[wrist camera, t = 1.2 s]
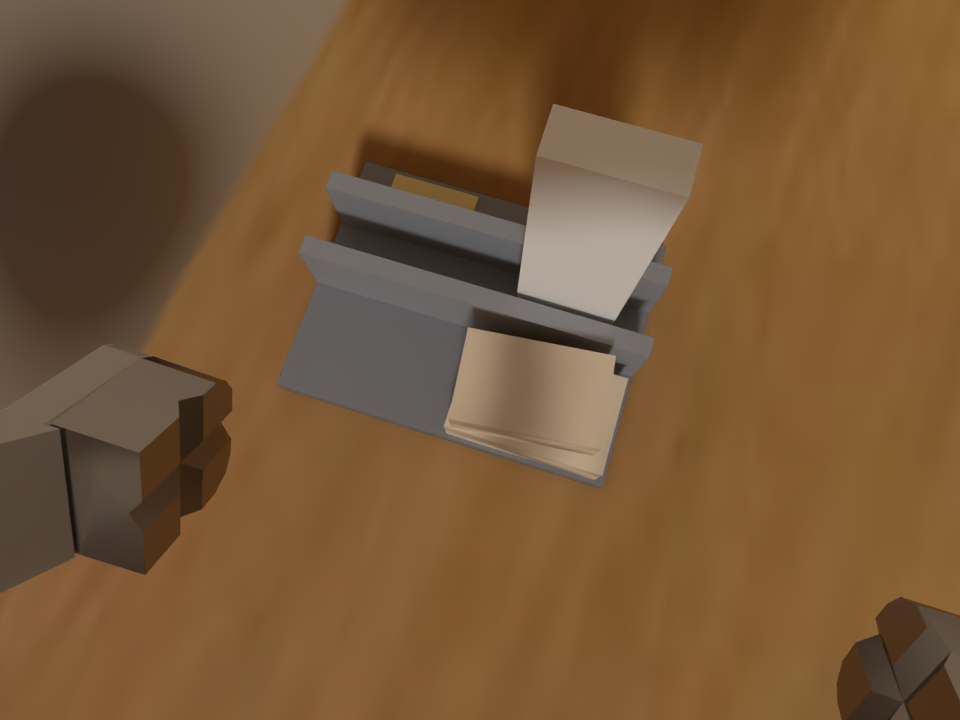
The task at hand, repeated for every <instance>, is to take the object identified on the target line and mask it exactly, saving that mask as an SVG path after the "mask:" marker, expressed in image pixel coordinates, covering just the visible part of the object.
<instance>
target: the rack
mask: <svg viewBox="0 0 960 720" xmlns="http://www.w3.org/2000/svg"><path fill="white" fill-rule="evenodd" d="M326 189H327V191H328V194H329V196H330V198H331V200H332V203H333V205H334V207H335V209H336V212H337V214H338V216H339V218H340V220H341V225H340V227H339V230H338V232H337V235H336V237H335V240H334V242H333V243H331V242H327V241H324V240H321V239H317V238H314V237H310V236H307V235H306V236H305V238H304V241H303V243H302V246H301V248H300V250H299V254H300V256H301V257H302V259H303V260H304V262H305V264H306V265H307V267H308V268H309V270H310V271H311V273H312V274H313V276H314V277H315V279H316V281H317V285H316V287H315V290H314V292H313V295H312V297H311V300H310V302H309V305H308V307H307V310H306V312H305V315H304V317H303V320H302V322H301V325H300V327H299V329H298V332H297V334H296V337H295V339H294V342H293V344H292V347H291V349H290V352H289V354H288V357H287V359H286V362H285V364H284V367H283V369H282V372H281V374H280V377H279V379H278V382H277V385H278V386H280V387H281V388H283V389H286V390H289V391H292V392H296V393H299V394H302V395H305V396H308V397H311V398H315V399H318V400H321V401H324V402H327V403H330V404H334V405H337V406H340V407H343V408H346V409H349V410H353V411H356V412H359V413H362V414H365V415H369V416H372V417H375V418H378V419H381V420H384V421H388V422H391V423H394V424H397V425H400V426H403V427H407V428H410V429H413V430H416V431H419V432H423V433H426V434H429V435H432V436H435V437H438V438H442V439H445V440H448V441H451V442H454V443H457V444H461V445H464V446H467V447H470V448H473V449H476V450H480V451H483V452H486V453H489V454H492V455H496V456H499V457H502V458H505V459H508V460H511V461H515V462H518V463H521V464H524V465H527V466H530V467H534V468H537V469H540V470H543V471H546V472H550V473H553V474H556V475H559V476H562V477H565V478H569V479H572V480H575V481H578V482H581V483H584V484H588V485H591V486H594V487H597V488H601V487H603V483H604V480H605V476H606V472H607V468H608V464H609V461H610V457H611V453H612V449H613V446H614V442H615V438H616V434H617V430H618V427H619V423H620V419H621V415H622V412H623V408H624V404H625V400H626V397H627V393H628V389H629V385H630V381H631V378H632V376H633V375H634V374H635V372H636V371H637V370H638V369H639V368H640V367H641V366H642V365H643V364H644V363H645V361H646V360H647V359H648V358H649V357H650V354H651V350H652V346H653V342H654V337H650V336H647V335H643V332H644V329H645V325H646V321H647V317H648V314H649V311H650V310H651V309H652V307H653V306H654V304H655V303H656V302H657V300H658V299H659V298H660V296H661V295H662V293H663V292H664V291H665V289H666V288H667V287H668V284H669V281H670V277H671V273H672V269H673V268H672V267H669V266H665V265H662V261H663V257H664V253H665V249H666V246H663V245H660V247H659V249H658V250H657V252H656V254H655V255H654V257H653V259H652V260H651V262H650V264H649V265H648V267H647V268H646V270H645V272H644V273H643V275H642V277H641V278H640V280H639V282H638V283H637V285H636V287H635V288H634V290H633V292H632V293H631V295H630V297H629V298H628V300H627V302H626V303H625V305H624V307H623V308H622V310H621V312H620V313H619V315H618V316H617V318H616V320H615V321H614V323H613V325H609V324H606V323H603V322H599V321H596V320H592V319H589V318H586V317H582V316H579V315H575V314H572V313H569V312H565V311H562V310H558V309H555V308H552V307H548V306H545V305H541V304H538V303H535V302H531V301H528V300H524V299H521V298H518V297H517V290H518V283H519V275H520V268H521V261H522V254H523V247H524V239H525V232H526V225H527V218H528V210H529V207H526V206H522V205H518V204H515V203H511V202H508V201H504V200H501V199H497V198H494V197H490V196H487V195H483V194H480V193H476V192H472V191H469V190H465V189H462V188H458V187H455V186H451V185H448V184H444V183H441V182H437V181H434V180H430V179H426V178H423V177H419V176H416V175H412V174H409V173H405V172H402V171H398V170H395V169H391V168H388V167H384V166H381V165H377V164H373V163H370V162H366V163H365V165H364V168H363V170H362V173H361V175H360V178H357V177H353V176H350V175H346V174H343V173H339V172H336V171H332V173H331V176H330V178H329V180H328V183H327V185H326ZM468 327H469V328H474V329H479V330H484V331H490V332H495V333H500V334H505V335H510V336H516V337H521V338H526V339H531V340H536V341H541V342H547V343H552V344H557V345H562V346H567V347H573V348H578V349H583V350H588V351H593V352H598V353H604V354H609V355H614V356H616V360H615V366H614V373H613V374H614V375H618V376H621V377H624V378H628V381H627V385H626V389H625V393H624V396H623V400H622V404H621V408H620V411H619V415H618V419H617V423H616V426H615V430H614V434H613V438H612V441H611V445H610V449H609V453H608V456H607V460H606V464H605V468H604V471H603V475H602V476H601V477H599V478H597V479H595V480H592V479H589V478H586V477H583V476H580V475H576V474H573V473H570V472H567V471H564V470H560V469H557V468H554V467H551V466H548V465H544V464H541V463H538V462H535V461H532V460H529V459H525V458H522V457H519V456H516V455H513V454H509V453H506V452H503V451H500V450H497V449H494V448H490V447H487V446H484V445H481V444H478V443H474V442H471V441H468V440H465V439H462V438H459V437H455V436H452V435H449V434H446V431H445V428H444V424H445V421H446V418H447V415H448V412H449V408H450V405H451V402H452V399H453V394H454V390H455V385H456V380H457V376H458V371H459V367H460V362H461V358H462V353H463V348H464V344H465V339H466V335H467V330H468Z"/></svg>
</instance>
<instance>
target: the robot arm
mask: <svg viewBox="0 0 960 720" xmlns="http://www.w3.org/2000/svg"><path fill="white" fill-rule="evenodd" d="M231 411H232V388H231V386H230V385H229V384H228V383H227V382H226V381H224V380H221V379H218V378H215V377H213V376H210V375H207V374H204V373H201V372H198V371H195V370H192V369H189V368H186V367H183V366H181V365H178V364H175V363H172V362H169V361H166V360H163V359H160V358H157V357H154V356H149V355H147V354H144V353H141V352H138V351H135V350H132V349H129V348H126V347H123V346H120V345H117V344H114V345H113V344H112V345H103V346H101V347H100V348H98V349H96V350H95V351H93V352H92V353H90V354H89V355H87V356H86V357H84V358H83V359H81V360H80V361H78V362H76V363H75V364H73V365H72V366H70V367H69V368H67V369H66V370H64V371H62V372H61V373H59V374H58V375H56V376H54V377H53V378H51V379H50V380H48V381H47V382H45V383H44V384H42V385H41V386H39V387H37V388H36V389H34V390H33V391H31V392H30V393H28V394H27V395H25V396H23V397H22V398H20V399H19V400H17V401H16V402H14V403H13V404H11V405H9V406H8V407H6V408H5V409H3V410H2V409H0V593H1V592H4V591H6V590H8V589H10V588H12V587H14V586H16V585H18V584H20V583H22V582H25V581H27V580H29V579H31V578H33V577H35V576H37V575H39V574H41V573H43V572H46V571H48V570H50V569H52V568H54V567H56V566H58V565H60V564H62V563H65V562H67V561H69V560H71V559H73V558H75V553H76V554H79V555H83V556H86V557H89V558H92V559H95V560H99V561H102V562H105V563H108V564H111V565H115V566H118V567H121V568H124V569H127V570H131V571H134V572H137V573H140V574H143V575H146V574H147V572H148V571H149V570H150V569H151V568H152V567H153V565H154V564H155V563H156V562H157V561H158V560H159V558H160V557H161V556H162V555H163V554H164V553H165V552H166V550H167V549H168V548H169V547H170V546H171V545H172V543H173V542H174V541H175V540H176V539H177V538H178V537H179V535H180V517H183V516H185V515H188V514H191V513H193V512H196V511H199V510H201V509H202V508H203V507H204V506H205V505H206V504H207V502H208V501H209V500H210V499H211V497H212V496H213V495H214V494H215V492H216V490H217V488H218V486H219V484H220V482H221V480H222V478H223V477H224V475H225V473H226V469H227V465H228V461H229V457H230V449H231V438H230V436H229V435H228V433H227V431H226V430H225V428H224V426H223V425H222V423H221V422H222V421H223V420H224V419H225V417H226V416H227V415H228V414H229V413H230V412H231ZM876 622H877V627H878V632H879V634H878V635H875V636H873V637H870V638H867V639H864V640H861V641H858V642H856V643H855V644H854V646H853V647H852V648H851V650H850V651H849V653H848V654H847V655H846V657H845V658H844V660H843V661H842V665H841V669H840V673H839V677H838V681H837V701H838V707H839V710H840V714H841V718H842V720H960V615H957V614H954V613H950V612H947V611H944V610H941V609H938V608H934V607H931V606H928V605H925V604H922V603H918V602H915V601H912V600H909V599H906V598H903V597H900V598H898V599H896V600H894V601H892V602H889V603H887V605H886V606H885V607H884V608H883V609H882V611H881V612H880V613H879V614H878V615H877V617H876Z"/></svg>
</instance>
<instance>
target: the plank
mask: <svg viewBox="0 0 960 720" xmlns="http://www.w3.org/2000/svg"><path fill="white" fill-rule="evenodd" d="M702 147H703V144H701V143H698V142H694V141H690V140H687V139H683V138H679V137H675V136H672V135H668V134H664V133H661V132H657V131H653V130H649V129H646V128H642V127H638V126H635V125H631V124H627V123H623V122H620V121H616V120H612V119H608V118H605V117H601V116H597V115H594V114H590V113H586V112H582V111H579V110H575V109H571V108H568V107H564V106H560V105H556V104H553V106H552V109H551V112H550V115H549V118H548V121H547V124H546V127H545V130H544V133H543V136H542V139H541V142H540V145H539V148H538V151H537V154H536V160H535V167H534V174H533V182H532V189H531V196H530V203H529V210H528V218H527V225H526V232H525V239H524V247H523V254H522V261H521V268H520V275H519V283H518V290H517V297H518V298H521V299H524V300H528V301H531V302H535V303H538V304H541V305H545V306H548V307H552V308H555V309H558V310H562V311H565V312H569V313H572V314H575V315H579V316H582V317H586V318H589V319H592V320H596V321H599V322H603V323H606V324H609V325H613V323H614V321H615V320H616V318H617V316H618V315H619V313H620V312H621V310H622V308H623V307H624V305H625V303H626V302H627V300H628V298H629V297H630V295H631V293H632V292H633V290H634V288H635V287H636V285H637V283H638V282H639V280H640V278H641V277H642V275H643V273H644V272H645V270H646V268H647V267H648V265H649V264H650V262H651V260H652V259H653V257H654V255H655V254H656V252H657V250H658V249H659V247H660V245H661V244H662V242H663V240H664V239H665V237H666V235H667V234H668V232H669V230H670V229H671V227H672V225H673V224H674V222H675V221H676V219H677V217H678V216H679V214H680V212H681V211H682V209H683V207H684V206H685V204H686V202H687V201H688V199H689V197H690V193H691V189H692V185H693V181H694V178H695V174H696V170H697V166H698V162H699V158H700V155H701V151H702Z"/></svg>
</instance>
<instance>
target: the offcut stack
mask: <svg viewBox="0 0 960 720" xmlns="http://www.w3.org/2000/svg"><path fill="white" fill-rule="evenodd" d="M615 360H616V356H614V355H609V354H604V353H598V352H593V351H588V350H583V349H578V348H573V347H567V346H562V345H557V344H552V343H547V342H541V341H536V340H531V339H526V338H521V337H516V336H510V335H505V334H500V333H495V332H490V331H484V330H479V329H474V328H469V327H468V330H467V335H466V339H465V344H464V348H463V353H462V358H461V362H460V367H459V371H458V376H457V380H456V385H455V390H454V394H453V399H452V402H451V405H450V408H449V412H448V415H447V418H446V421H445V424H444V428H445V431H446V434H449V435H452V436H455V437H459V438H462V439H465V440H468V441H471V442H474V443H478V444H481V445H484V446H487V447H490V448H494V449H497V450H500V451H503V452H506V453H509V454H513V455H516V456H519V457H522V458H525V459H529V460H532V461H535V462H538V463H541V464H544V465H548V466H551V467H554V468H557V469H560V470H564V471H567V472H570V473H573V474H576V475H580V476H583V477H586V478H589V479H592V480H595V479H597V478H599V477H601V476H602V475H603V471H604V468H605V464H606V460H607V456H608V453H609V449H610V445H611V441H612V438H613V434H614V430H615V426H616V423H617V419H618V415H619V411H620V408H621V404H622V400H623V396H624V393H625V389H626V385H627V381H628V378H624V377H621V376H618V375H614V374H613V373H614V366H615Z"/></svg>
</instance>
